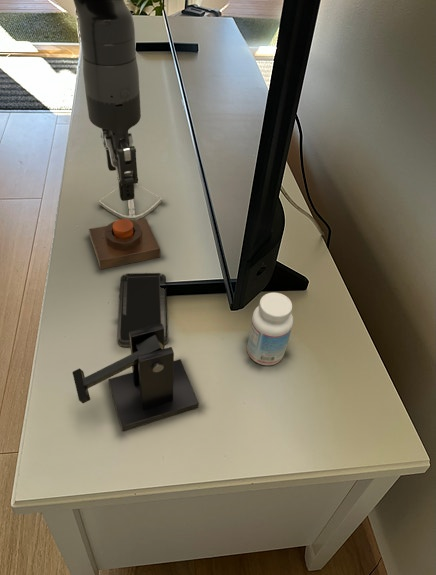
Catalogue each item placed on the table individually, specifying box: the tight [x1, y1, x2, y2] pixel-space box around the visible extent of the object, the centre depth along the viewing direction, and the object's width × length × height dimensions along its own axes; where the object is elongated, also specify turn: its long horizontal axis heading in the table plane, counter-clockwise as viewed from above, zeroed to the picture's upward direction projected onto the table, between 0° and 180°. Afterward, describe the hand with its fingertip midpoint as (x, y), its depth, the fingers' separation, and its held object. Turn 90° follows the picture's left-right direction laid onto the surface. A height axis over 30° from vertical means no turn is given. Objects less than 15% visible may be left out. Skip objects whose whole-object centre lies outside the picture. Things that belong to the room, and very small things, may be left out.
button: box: [113, 218, 134, 239], centre depth 89 cm, size 4×4×2 cm
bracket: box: [107, 323, 199, 432], centre depth 67 cm, size 11×8×13 cm
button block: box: [88, 218, 161, 270], centre depth 91 cm, size 11×9×4 cm
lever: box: [72, 335, 165, 404], centre depth 63 cm, size 12×4×2 cm, turn 112°
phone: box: [116, 272, 169, 348], centre depth 82 cm, size 8×1×15 cm
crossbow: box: [98, 171, 163, 221], centre depth 103 cm, size 16×13×2 cm
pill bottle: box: [246, 292, 294, 366], centre depth 74 cm, size 6×6×11 cm
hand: (121, 183), depth 81 cm, fingers open, 8 cm apart
